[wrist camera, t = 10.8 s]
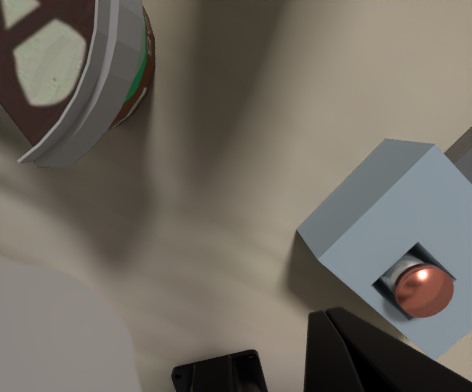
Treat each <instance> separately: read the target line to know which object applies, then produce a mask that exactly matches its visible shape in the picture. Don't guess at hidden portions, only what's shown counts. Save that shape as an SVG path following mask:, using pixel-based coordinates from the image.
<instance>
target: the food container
mask: <svg viewBox="0 0 472 392" xmlns="http://www.w3.org/2000/svg"><path fill="white" fill-rule="evenodd" d="M154 70H155V38H154V35H153V31H152V28H151V24H150V21H149V18H148V15H147V13H146V11H145V9H144V7H143V5H142V0H0V104H1V105H2V107H3V108H4V109H5V110H6V112H7V113H8V114H9V116H10V117H11V118H12V120H13V121H14V122H15V123H16V125H17V126H18V127H19V129H20V130H21V131H22V133H23V134H24V135H25V137H26V138H27V139H28V141H29V142H30V143H31V144H32V146H33V148H32V149H31V150H29V151H28V152H27V153H26V154H24V155H23V156H22V157H21V158H19V159H18V160H17V162H18V163H24V162H31V161H34V162H35V164H36V165H37V166H38V167H40V168H68V167H69V166H71V165H72V164H73V163H74V162H76V161H77V160H78V159H80V158H81V157H82V156H83V155H85V154H86V153H87V152H88V151H89V150H90V149H91V148H92V147H93V146H94V145H95V144H96V142H97V141H98V140H99V139H100V138H101V137H102V136H103V135H104V134H105V133H106V131H107V130H109V129H112V128H114V127H117V126H118V125H120V124H121V123H122V122H124V121H125V120H126V119H127V118H129V117H130V116H131V115H133V113H134V112H135V110H136V109H137V108H138V106H139V105H140V103H141V102H142V100H143V99H144V98H145V96H146V95H147V93H148V90H149V87H150V83H151V80H152V77H153V73H154Z"/></svg>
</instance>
